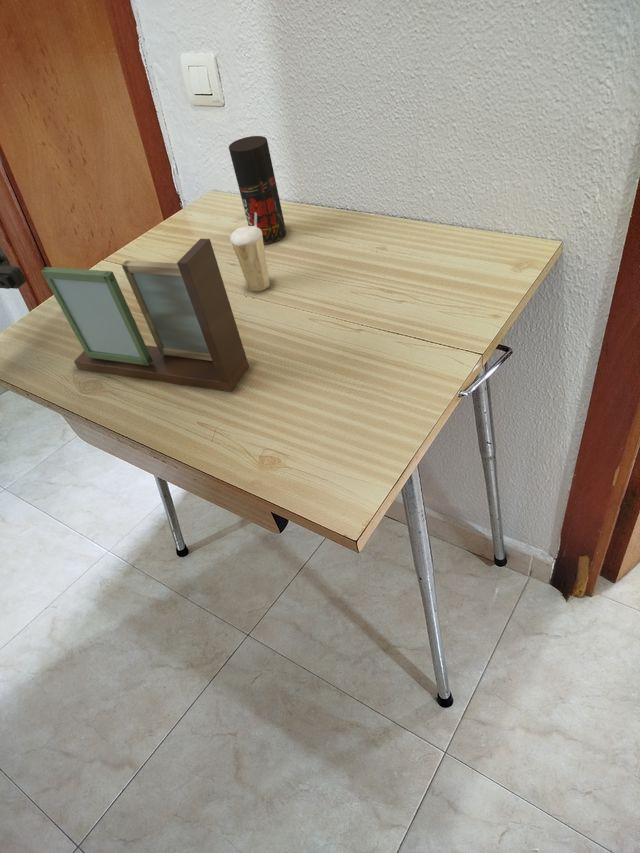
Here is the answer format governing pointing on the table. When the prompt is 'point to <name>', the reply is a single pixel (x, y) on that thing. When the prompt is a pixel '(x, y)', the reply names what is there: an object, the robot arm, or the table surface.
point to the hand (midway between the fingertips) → (19, 278)
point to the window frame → (183, 324)
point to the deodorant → (258, 186)
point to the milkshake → (251, 255)
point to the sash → (98, 314)
